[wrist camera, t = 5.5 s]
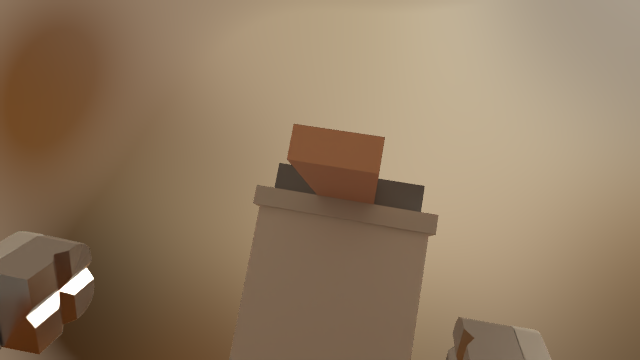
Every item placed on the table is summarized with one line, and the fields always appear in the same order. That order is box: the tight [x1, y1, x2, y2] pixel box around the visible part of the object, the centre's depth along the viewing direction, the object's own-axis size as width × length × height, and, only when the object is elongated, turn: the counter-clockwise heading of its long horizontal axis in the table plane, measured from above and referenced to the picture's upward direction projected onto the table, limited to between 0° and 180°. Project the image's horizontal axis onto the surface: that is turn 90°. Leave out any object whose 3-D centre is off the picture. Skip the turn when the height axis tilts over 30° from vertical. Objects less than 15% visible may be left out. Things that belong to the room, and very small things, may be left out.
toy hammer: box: [275, 124, 424, 212], centre depth 23 cm, size 18×8×2 cm, turn 175°
